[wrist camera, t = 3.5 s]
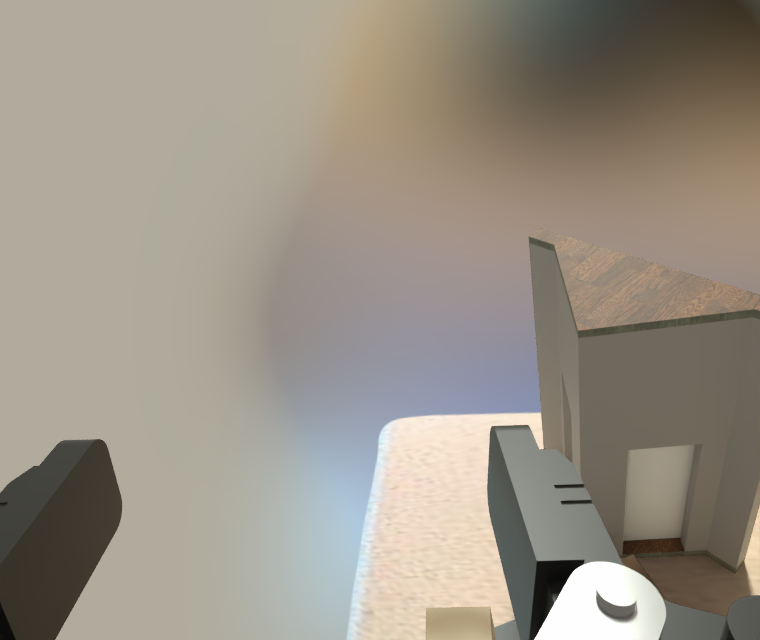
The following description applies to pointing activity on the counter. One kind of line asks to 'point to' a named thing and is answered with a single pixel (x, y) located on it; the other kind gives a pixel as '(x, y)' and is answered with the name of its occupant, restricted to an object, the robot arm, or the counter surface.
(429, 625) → the pillar
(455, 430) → the counter surface
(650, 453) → the cabinet
